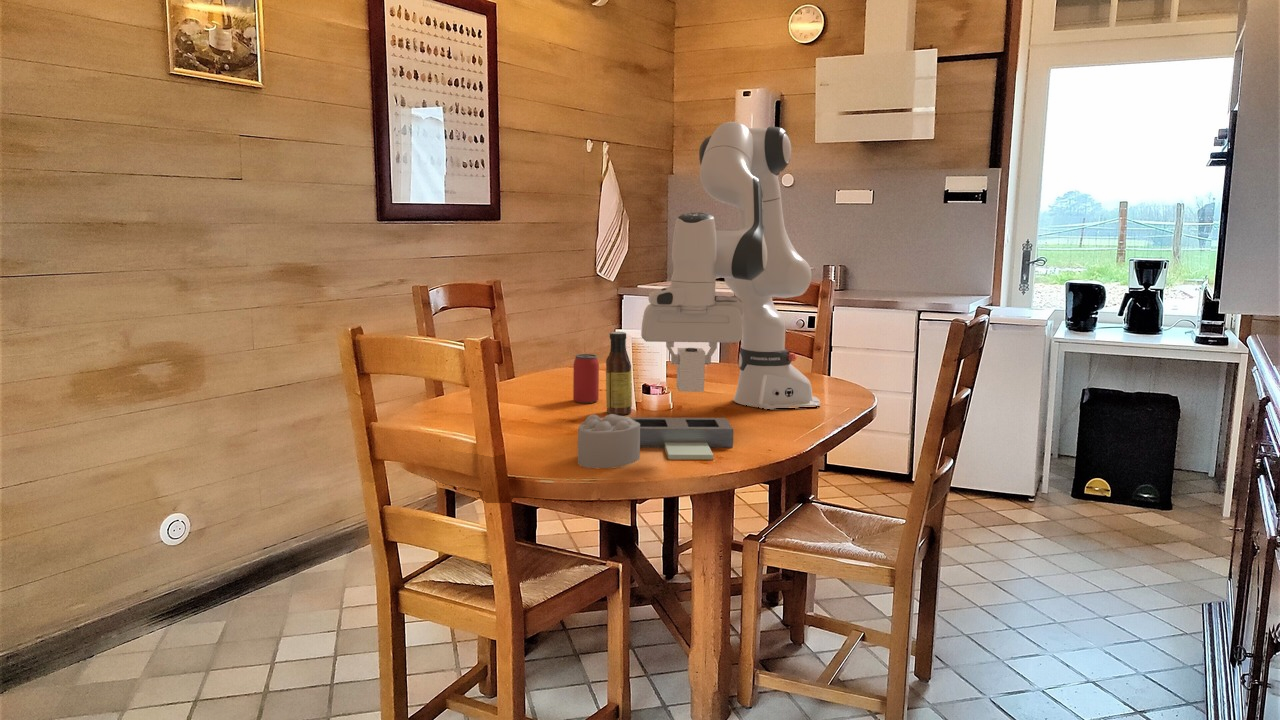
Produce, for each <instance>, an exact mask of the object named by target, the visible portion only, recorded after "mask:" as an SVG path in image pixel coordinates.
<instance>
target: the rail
mask: <svg viewBox="0 0 1280 720" xmlns="http://www.w3.org/2000/svg"><path fill="white" fill-rule="evenodd" d="M628 417H629V416H628ZM629 418H631V419H632V420H633V421H635V422H638V423H639V424H640V448H665V447H664V446H665V443H707V444H708V445H709V447H710V448H733V447H734V428H733V426H732V424H731V423H730V421H729V420H728V419H727V417H642V416H641V417H633V416H632V417H629Z"/></svg>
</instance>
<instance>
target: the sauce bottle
mask: <svg viewBox="0 0 1280 720" xmlns="http://www.w3.org/2000/svg"><path fill="white" fill-rule="evenodd" d="M609 339H610V351H609V354H608V356H607V357H606V360H605V361H606V362H605V364H606V367H605V368H606V371H605V390H606V392H605V393H606V394H605V398H606V412H607V413H608V414H615V415H619V416H624V415H629V414H631V412H632V407H633V400H632V399H633V398H632V397H633V395H632V390H633V388H632V386H633V384H632V383H633V382H632V364H631V361H630V358H629V355H628V352H627V346H626V345H627V341H626V340H627V332H625V331H612V332H611V331H610V332H609Z"/></svg>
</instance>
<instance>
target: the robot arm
mask: <svg viewBox="0 0 1280 720" xmlns="http://www.w3.org/2000/svg"><path fill="white" fill-rule="evenodd" d="M788 134H789V133H787V131H786V130H785V129H783V128H782V127H778V126H768V127H751V128H748V127H747V126H745V125H744V124H743V123H740V122H738V121H737V122H736V121H727V122H723V123H721V124H720V125H718V126H717V127H716V128H715V130H714V131H713V132H712V134H711V135H710V136H708V137H705V138H704V139H703V140H702V142H701V144H700V146H699V152H698V153H699V155H698V157H699V158H698V159H699V165H700V168H699V169H700V170H699V181H700V184H701V186H702V188H703V190H704V191H705V192H706V194H707V195H708V196H710V197H711V198H712V199H714V200H715V201H717V202H719V203H723V204H726V205H729V206H732V207H735V208H737V215H738V224H739V225H738V226H739V229H738V230H725V229H724V230H722V229H720V230H718V229H716V221H715V217H714V216H713V215H712V214H710V213H706V212H689V213H688V212H687V213H682V214H680V215H679V216H677V217H676V220H675V224H674V229H673V237H672V245H671V246H672V247H671V262H672V265H673V270H672V271H673V272H672V275H671V278H670V281H671V282H670V286H666V287H663V288H660V289H657V290H653V291H651V292H649V294H648V302H649V304H648V305H647V306H646V307H645V309H644V312H643V315H642V321H641V333H640V334H641V335H640V336H641V338H642V339H643V340H644V342H650V343H651V342H654V343H657V342H658V343H665V347H666V348H667V351H668V352H669V354H670V360H671V361H670V364H671V365H677V364H679V355H678V354H677V353H676V354H675V352H674V350H673V349H672V348H674V347H675V343H708V346H709V350H708V351H707V353H706V354H705V365H710V366H711V364H712V356H713V355H714V353H715V352H716V350H717V349H718V343H730V344H731V343H732V344H733V343H734V344H736V343H739V342H741V347H740V349H739V356H738V357H739V358H738V359H739V360H738V366H739V369H740V370H739V374H738V375H739V377H738V383H737V387H736V391H735V394H734V398H733V401H734V402H735V403H737V404H739V405H743V406H746V405H747V407H754V408H758V407H759V409H762V408H764V409H763V410H767V409H770V410H775V409H774V408H789V407H805V406H818V405H820V403H821V400H820V399H819V397H816V396H815V395H813V389H812V384H811V381H810V380H809V378H808V377H807V376H805V375H804V374H803V373H802V372H801V371H800V370H799V369H797V368H796V367H795V366H794V365H793V364H791V363H792V362H796V360H797V358H798V356H797V355H796V353H794V352H790V351H788V350H787V349H786V348H785V344H786V320H785V318H784V315H782V314H781V313H780V312H779V311H778V310H777V308H776V306H775V304H774V300H773V298H781V299H787V298H788V299H789V298H795V297H800V296H802V295H804V294H806V292H807V291H808V288H809V287H810V285H811V282H812V269H811V266H810V264H809V263H808V261H807V260H806V259H804V258H803V257H802V256H801V255H800V254H799V253H798V251H797V250H796V248H795V247H794V245H793V244H792V242H791V240H790V237H789V235H788V232H787V230H786V226H785V220H784V212H783V211H784V210H783V204H782V203H783V201H782V193H781V185H780V180H779V175H780V172H782V171H784V170H785V169H786V168H787V167H788V165H789V163H790V161H791V156H792V143H791V140H790V137H789V135H788ZM716 278H724V282H725V284H726V286H727V287H728V288H729V289H730V290H731V291H732V293H733V294H734V295H730V296H726V295H716V281H717V279H716ZM772 297H773V298H772ZM820 406H821V405H820Z"/></svg>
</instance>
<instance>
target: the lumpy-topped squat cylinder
mask: <svg viewBox="0 0 1280 720" xmlns="http://www.w3.org/2000/svg"><path fill="white" fill-rule="evenodd" d="M640 448H641V447H640V424H639V423H638V422H635V421H633V420H632V419H631V418H629V416H624V415H615V414H610V413H608V414H607V415H605V416H604V417H600V416H599V415H597V414H589V415H588V416H587V417H586V418H585V420H584V421H582V422H581V424H579V426H578V428H577V464H578V463H579V464H578V465H579V466H580V465H581V466H580V467H582V466H583V467H582V468H585V467H587V468H586V469H591V468H608V469H614V468H613V467H617V468H622V467H625V465H626V466H628V464H629V465H631V464H633V462H634V463H636V462H638V461H640V459H641V458H640V453H641V452H640V451H641V449H640ZM639 458H640V459H639ZM637 460H638V461H637ZM635 461H636V462H635ZM630 463H631V464H630ZM621 466H622V467H621Z"/></svg>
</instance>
